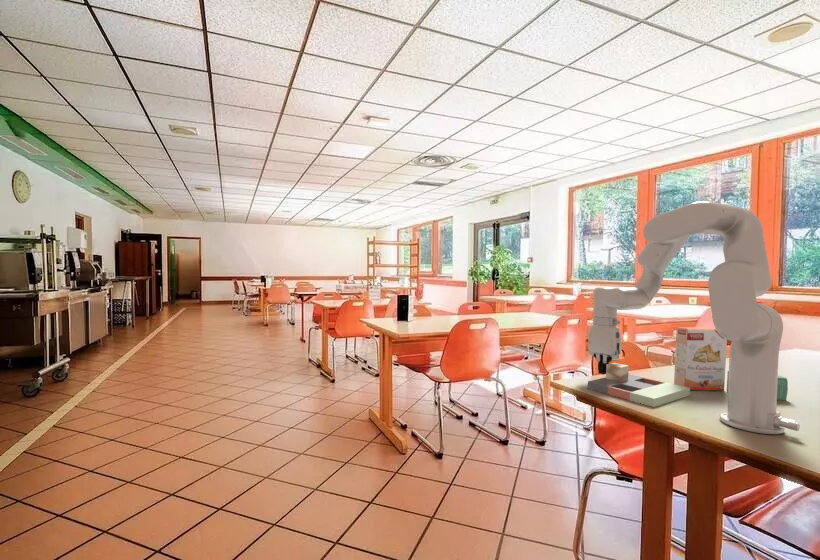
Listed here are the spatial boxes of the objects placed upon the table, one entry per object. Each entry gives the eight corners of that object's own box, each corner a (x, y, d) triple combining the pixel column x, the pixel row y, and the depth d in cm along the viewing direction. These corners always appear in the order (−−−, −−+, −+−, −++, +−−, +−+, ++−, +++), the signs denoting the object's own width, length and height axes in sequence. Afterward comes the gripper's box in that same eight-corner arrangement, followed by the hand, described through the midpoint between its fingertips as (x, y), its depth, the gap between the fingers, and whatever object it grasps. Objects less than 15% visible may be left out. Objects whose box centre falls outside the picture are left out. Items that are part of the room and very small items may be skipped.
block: (628, 380, 135) (628, 365, 135) (620, 382, 132) (620, 367, 132) (613, 376, 139) (614, 362, 139) (605, 378, 136) (606, 364, 136)
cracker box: (685, 390, 132) (687, 328, 132) (673, 385, 138) (675, 326, 138) (726, 391, 133) (728, 329, 133) (711, 386, 139) (713, 327, 139)
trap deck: (689, 395, 127) (690, 387, 127) (653, 407, 115) (654, 398, 114) (624, 379, 145) (624, 373, 145) (587, 388, 132) (587, 381, 132)
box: (788, 401, 124) (788, 377, 124) (742, 399, 125) (743, 375, 125) (768, 394, 131) (769, 371, 131) (725, 392, 132) (726, 370, 132)
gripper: (631, 324, 135) (629, 377, 135) (591, 319, 148) (589, 367, 148) (619, 325, 131) (617, 380, 131) (579, 320, 144) (577, 370, 144)
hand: (603, 373), depth 140 cm, fingers closed
